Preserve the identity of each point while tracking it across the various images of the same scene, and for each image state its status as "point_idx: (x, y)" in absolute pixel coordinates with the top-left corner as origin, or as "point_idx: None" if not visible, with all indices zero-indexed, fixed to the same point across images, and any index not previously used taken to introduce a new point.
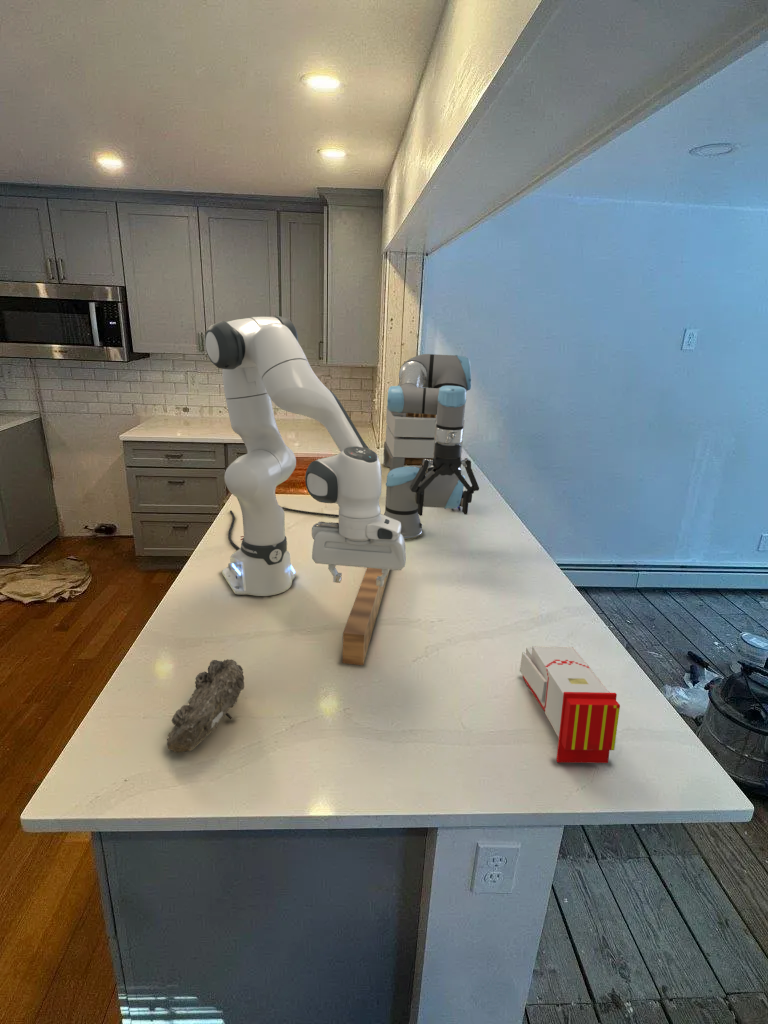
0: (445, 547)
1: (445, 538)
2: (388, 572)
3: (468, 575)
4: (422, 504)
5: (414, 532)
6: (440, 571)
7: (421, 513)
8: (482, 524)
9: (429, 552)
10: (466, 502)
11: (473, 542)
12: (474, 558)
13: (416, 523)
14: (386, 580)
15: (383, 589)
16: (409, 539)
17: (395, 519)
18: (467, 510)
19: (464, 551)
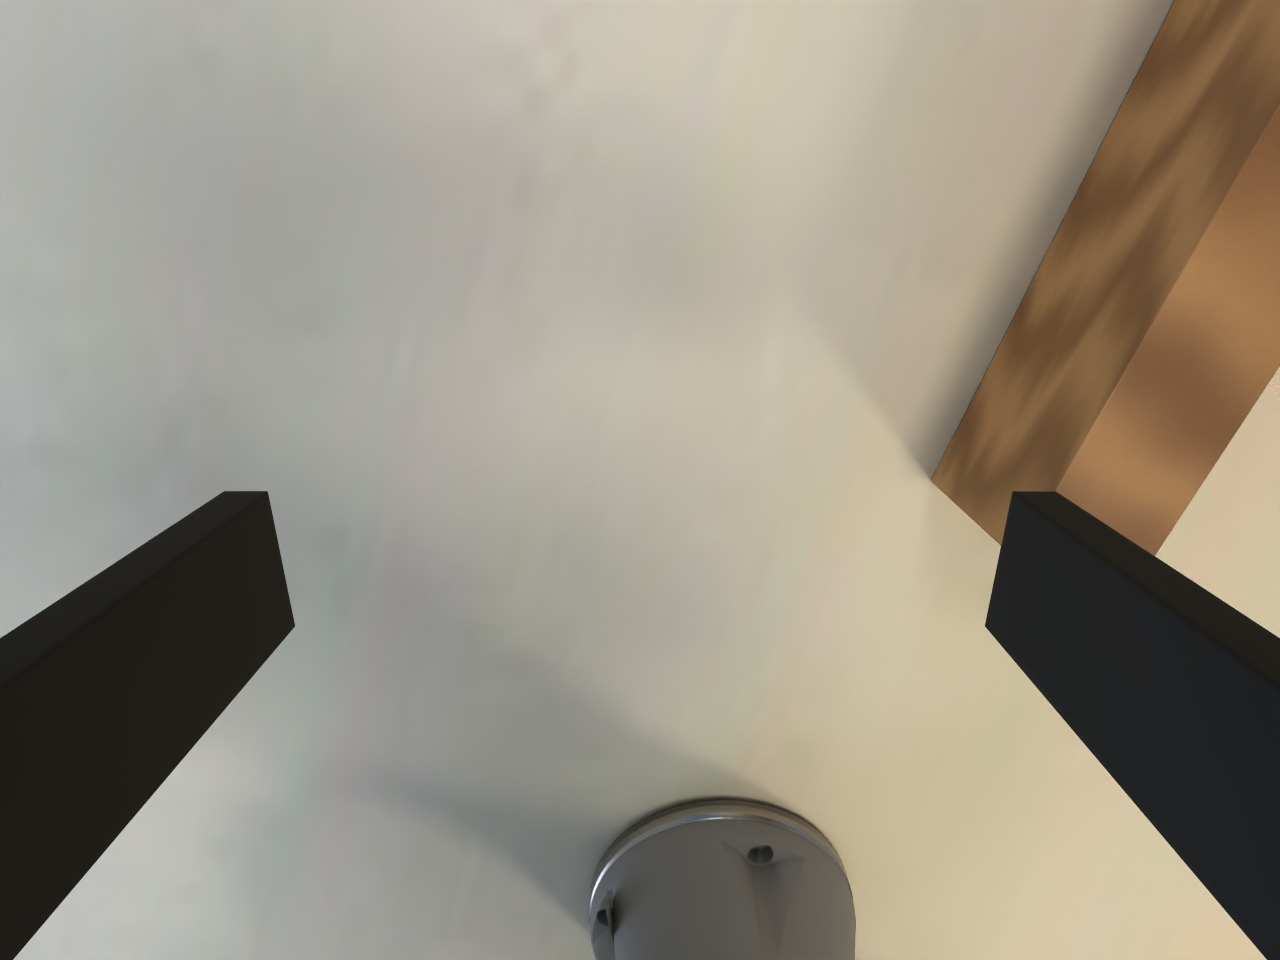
0: (493, 695)
1: (463, 807)
2: (1008, 345)
3: (431, 274)
4: (1163, 592)
5: (664, 847)
6: (619, 358)
7: (1052, 505)
8: (194, 955)
9: (616, 638)
10: (99, 603)
11: (294, 746)
12: (332, 531)
13: (647, 917)
14: (1060, 234)
15: (1172, 36)
16: (696, 803)
17: (804, 949)
18: (181, 521)
19: (380, 633)
